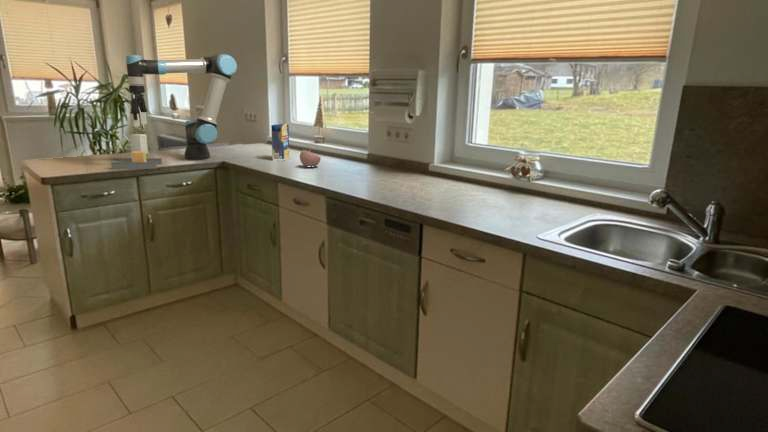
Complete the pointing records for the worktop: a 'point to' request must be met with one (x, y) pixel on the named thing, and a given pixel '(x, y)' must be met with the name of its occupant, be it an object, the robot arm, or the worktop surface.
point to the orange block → (138, 156)
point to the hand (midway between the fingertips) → (140, 125)
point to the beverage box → (280, 141)
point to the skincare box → (139, 143)
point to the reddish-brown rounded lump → (309, 158)
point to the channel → (136, 164)
